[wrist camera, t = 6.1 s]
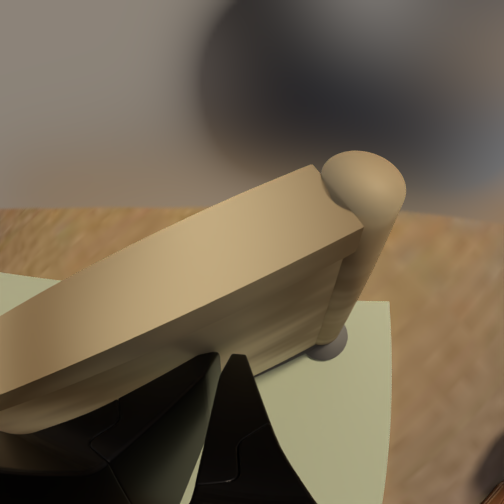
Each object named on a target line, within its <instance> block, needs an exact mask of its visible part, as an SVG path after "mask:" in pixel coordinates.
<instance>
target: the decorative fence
mask: <svg viewBox="0 0 504 504" xmlns="http://www.w3.org/2000/svg"><path fill="white" fill-rule="evenodd" d="M481 504H504V481H502V482H500V483H499V484H498V485H497V486H496V487H495V489H494V490H493V491H492V492H491V493H490V494H489V495H488V497H487V498H486V499H485V500H484V501H483V502H482V503H481Z"/></svg>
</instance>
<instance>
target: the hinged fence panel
mask: <svg viewBox="0 0 504 504" xmlns="http://www.w3.org/2000/svg"><path fill="white" fill-rule="evenodd" d="M405 196H406V185H405V181H404V179H403V177H402V175H401V173H400V172H399V171H398V169H397V168H396V167H395V166H394V165H393V164H392V163H390V162H389V161H387V160H386V159H384V158H382V157H380V156H378V155H376V154H373V153H369V152H364V151H347V152H342V153H339V154H337V155H335V156H333V157H332V158H330V159H329V160H328V161H327V162H326V163H325V165H324V166H323V169H322V171H321V174H320V173H319V171H317V169H316V168H315V167H314V166H313V165H312V164H311V165H308V166H306V167H303V168H301V169H298V170H296V171H294V172H291V173H289V174H286V175H284V176H281V177H279V178H276V179H274V180H272V181H269V182H267V183H265V184H262V185H260V186H258V187H255V188H253V189H250V190H248V191H246V192H243V193H241V194H239V195H237V196H234V197H232V198H230V199H228V200H225V201H223V202H221V203H219V204H216V205H214V206H212V207H210V208H207V209H205V210H203V211H201V212H199V213H196V214H194V215H192V216H190V217H188V218H186V219H183V220H181V221H179V222H177V223H175V224H173V225H171V226H169V227H167V228H164V229H162V230H160V231H158V232H156V233H154V234H152V235H150V236H148V237H146V238H144V239H142V240H140V241H138V242H136V243H134V244H132V245H130V246H128V247H126V248H124V249H122V250H120V251H118V252H116V253H114V254H112V255H110V256H108V257H106V258H104V259H102V260H100V261H98V262H96V263H94V264H92V265H91V266H89V267H87V268H85V269H83V270H81V271H79V272H77V273H75V274H74V275H72V276H70V277H68V278H66V279H64V280H62V281H61V282H59V283H57V284H55V285H53V286H52V287H50V288H48V289H46V290H44V291H43V292H41V293H39V294H37V295H35V296H34V297H32V298H30V299H28V300H27V301H25V302H23V303H22V304H20V305H18V306H16V307H15V308H13V309H11V310H10V311H8V312H6V313H4V314H3V315H1V316H0V431H3V432H6V433H11V434H28V433H33V432H36V431H39V430H42V429H45V428H48V427H51V426H54V425H57V424H60V423H63V422H65V421H68V420H71V419H74V418H76V417H79V416H81V415H84V414H86V413H89V412H91V411H93V410H95V409H98V408H100V407H102V406H104V405H106V404H108V403H110V402H112V401H114V400H116V399H117V400H118V398H120V397H122V396H124V395H126V394H128V393H130V392H131V391H133V390H135V389H137V388H139V387H141V386H143V385H145V384H147V383H148V382H150V381H152V380H154V379H156V378H158V377H160V376H161V375H163V374H165V373H167V372H169V371H170V370H172V369H174V368H176V367H178V366H179V365H181V364H183V363H185V362H187V361H188V360H190V359H192V358H194V357H195V356H197V355H200V354H205V353H209V352H218V353H219V354H220V361H221V372H222V370H223V368H224V367H225V365H226V363H227V361H228V359H229V357H230V356H231V354H245V355H246V356H247V359H248V361H249V364H250V367H251V370H252V373H253V376H255V375H257V374H259V373H261V372H263V371H265V370H267V369H269V368H271V367H273V366H275V365H277V364H279V363H281V362H283V361H285V360H287V359H289V358H291V357H293V356H295V355H297V354H298V353H300V352H302V351H304V350H306V349H308V348H310V347H312V346H313V345H315V344H317V345H327V344H329V343H331V342H333V341H334V340H335V339H336V338H337V336H338V335H339V333H340V331H341V329H342V328H343V326H344V324H345V322H346V320H347V319H348V317H349V315H350V313H351V311H352V309H353V307H354V306H355V304H356V302H357V300H358V298H359V296H360V294H361V292H362V290H363V288H364V286H365V284H366V282H367V280H368V278H369V276H370V274H371V272H372V270H373V268H374V266H375V264H376V262H377V260H378V258H379V256H380V254H381V251H382V249H383V247H384V245H385V243H386V241H387V238H388V236H389V234H390V232H391V230H392V227H393V225H394V223H395V220H396V218H397V216H398V213H399V211H400V209H401V206H402V204H403V201H404V199H405Z"/></svg>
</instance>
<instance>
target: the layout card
mask: <svg viewBox="0 0 504 504" xmlns="http://www.w3.org/2000/svg"><path fill="white" fill-rule="evenodd" d="M59 282H61V281H60V280H52V279H44V278H36V277H29V276H21V275H14V274H7V273H1V272H0V316H1V315H3V314H4V313H6V312H8V311H10V310H11V309H13V308H15V307H16V306H18V305H20V304H22V303H23V302H25V301H27V300H28V299H30V298H32V297H34V296H35V295H37V294H39V293H41V292H43V291H44V290H46V289H48V288H50V287H52V286H53V285H55V284H57V283H59ZM254 378H255V381H256V384H257V387H258V389H259V392H260V395H261V398H262V400H263V403H264V406H265V409H266V411H267V414H268V417H269V419H270V422H271V425H272V427H273V429H274V432H275V435H276V437H277V439H278V441H279V444H280V446H281V448H282V450H283V452H284V453H285V455H286V457H287V459H288V460H289V462H290V464H291V465H292V467H293V468H294V470H295V471H296V473H297V474H298V476H299V478H300V479H301V481H302V482H303V484H304V485H305V487H306V488H307V490H308V491H309V493H310V494H311V495H312V497H313V498H314V500H315V501H316V502H317V504H382V501H383V494H384V487H385V479H386V470H387V460H388V449H389V436H390V420H391V391H392V354H391V324H390V306H389V301H357V302H356V304H355V306H354V307H353V309H352V311H351V313H350V315H349V317H348V319H347V320H346V322H345V324H344V326H343V328H342V329H341V331H340V333H339V335H338V336H337V338H336V339H335V340H334V341H333V342H331V343H329V344H327V345H317V344H315V345H313V346H312V347H310V348H308V349H306V350H304V351H302V352H300V353H298V354H297V355H295V356H293V357H291V358H289V359H287V360H285V361H283V362H281V363H279V364H277V365H275V366H273V367H271V368H269V369H267V370H265V371H263V372H261V373H259V374H257V375H255V376H254ZM203 446H204V445H203ZM202 451H203V448H202V450H201V453H200V455H199V458H198V460H197V463H196V465H195V468H194V470H193V473H192V475H191V478H190V480H189V483H188V485H187V488H186V490H185V493H184V495H183V498H182V500H181V503H180V504H189V503H190V500H191V498H192V494H193V491H194V487H195V482H196V477H197V473H198V468H199V464H200V459H201V455H202Z"/></svg>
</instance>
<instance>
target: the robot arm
mask: <svg viewBox="0 0 504 504" xmlns="http://www.w3.org/2000/svg"><path fill="white" fill-rule="evenodd" d="M203 445H204V446H203ZM202 448H203V451H202V455H201V459H200V464H199V468H198V473H197V477H196V482H195V487H194V491H193V494H192V498H191V500H190V503H189V504H317V502H316V501H315V500H314V498H313V497H312V495H311V494H310V493H309V491H308V490H307V488H306V487H305V485H304V484H303V482H302V481H301V479H300V478H299V476H298V474H297V473H296V471H295V470H294V468H293V467H292V465H291V464H290V462H289V460H288V459H287V457H286V455H285V453H284V452H283V450H282V448H281V446H280V444H279V441H278V439H277V437H276V435H275V432H274V429H273V427H272V425H271V422H270V419H269V417H268V414H267V411H266V409H265V406H264V403H263V400H262V398H261V395H260V392H259V389H258V387H257V384H256V381H255V378H254V376H253V373H252V370H251V367H250V364H249V361H248V359H247V356H246V355H245V354H231V356H230V357H229V359H228V361H227V363H226V365H225V367H224V368H223V370H222V372H221V361H220V354H219V353H218V352H209V353H205V354H200V355H197V356H195V357H194V358H192V359H190V360H188V361H187V362H185V363H183V364H181V365H179V366H178V367H176V368H174V369H172V370H170V371H169V372H167V373H165V374H163V375H161V376H160V377H158V378H156V379H154V380H152V381H150V382H148V383H147V384H145V385H143V386H141V387H139V388H137V389H135V390H133V391H131V392H130V393H128V394H126V395H124V396H122V397H120V398H118V400H117V399H116V400H114V401H112V402H110V403H108V404H106V405H104V406H102V407H100V408H98V409H95V410H93V411H91V412H89V413H86V414H84V415H81V416H79V417H76V418H74V419H71V420H68V421H65V422H63V423H60V424H57V425H54V426H51V427H48V428H45V429H42V430H39V431H36V432H33V433H28V434H11V433H6V432H3V431H0V504H180V503H181V500H182V498H183V495H184V493H185V490H186V488H187V485H188V483H189V480H190V478H191V475H192V473H193V470H194V468H195V465H196V463H197V460H198V458H199V455H200V453H201V450H202Z"/></svg>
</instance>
